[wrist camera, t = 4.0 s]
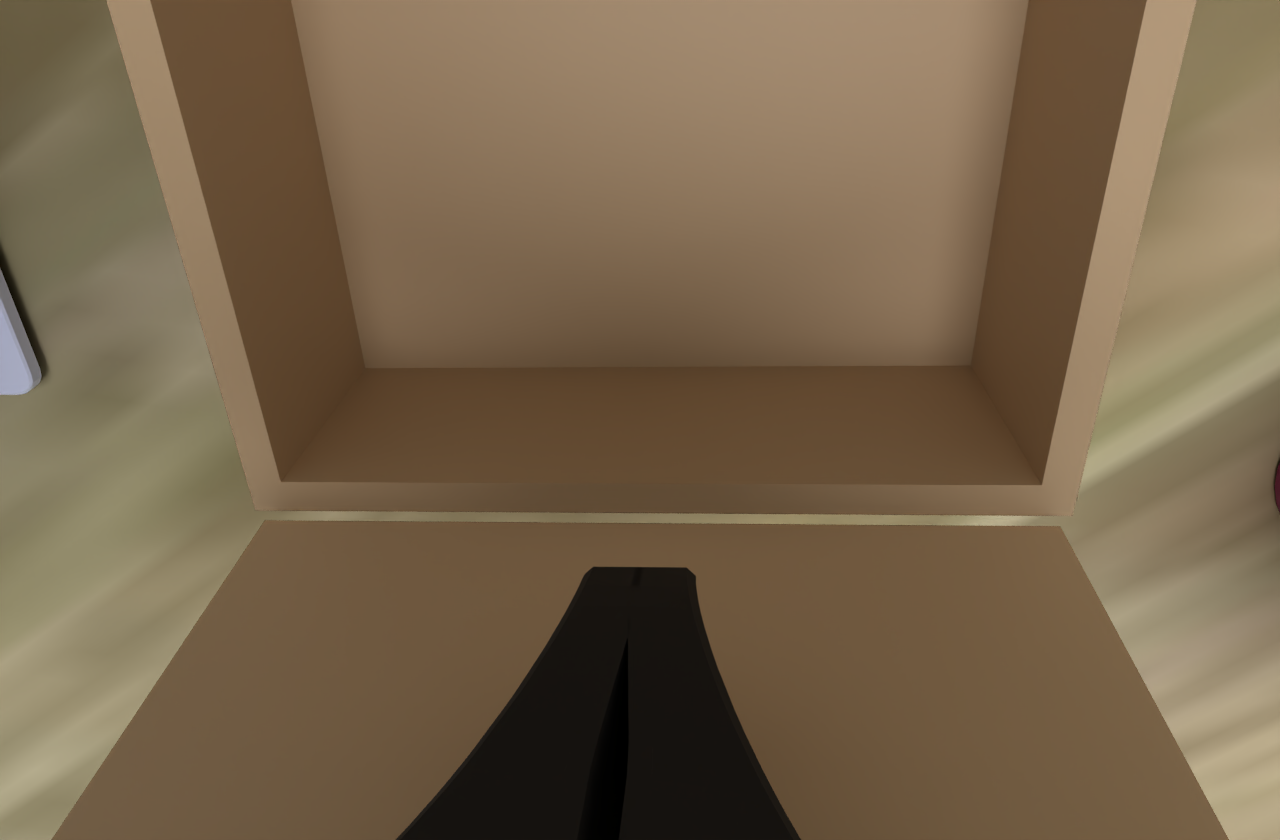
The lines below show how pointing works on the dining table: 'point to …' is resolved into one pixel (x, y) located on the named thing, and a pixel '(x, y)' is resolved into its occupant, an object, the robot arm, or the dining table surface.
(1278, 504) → the cup
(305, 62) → the carton
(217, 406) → the dining table surface
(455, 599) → the flap
